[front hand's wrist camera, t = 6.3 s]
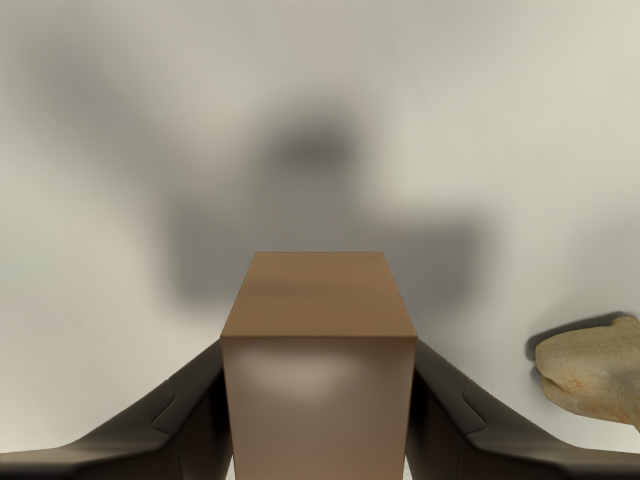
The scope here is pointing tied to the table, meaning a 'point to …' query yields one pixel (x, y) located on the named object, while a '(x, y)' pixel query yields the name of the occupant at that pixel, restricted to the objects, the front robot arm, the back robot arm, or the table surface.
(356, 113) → the table surface
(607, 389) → the sculpture
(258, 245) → the table surface
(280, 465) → the block
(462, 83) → the table surface
